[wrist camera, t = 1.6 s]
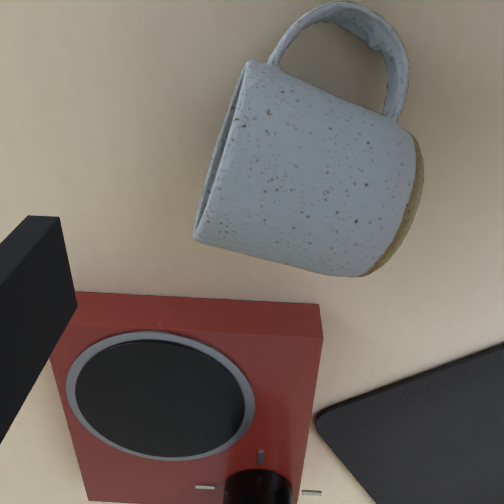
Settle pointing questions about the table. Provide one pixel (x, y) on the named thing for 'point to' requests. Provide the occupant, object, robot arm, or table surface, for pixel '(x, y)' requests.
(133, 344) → the burner plate
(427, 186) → the table surface
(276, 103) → the ceramic mug
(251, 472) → the dial
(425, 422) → the mouse pad
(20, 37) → the table surface
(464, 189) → the table surface
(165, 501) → the hotplate
